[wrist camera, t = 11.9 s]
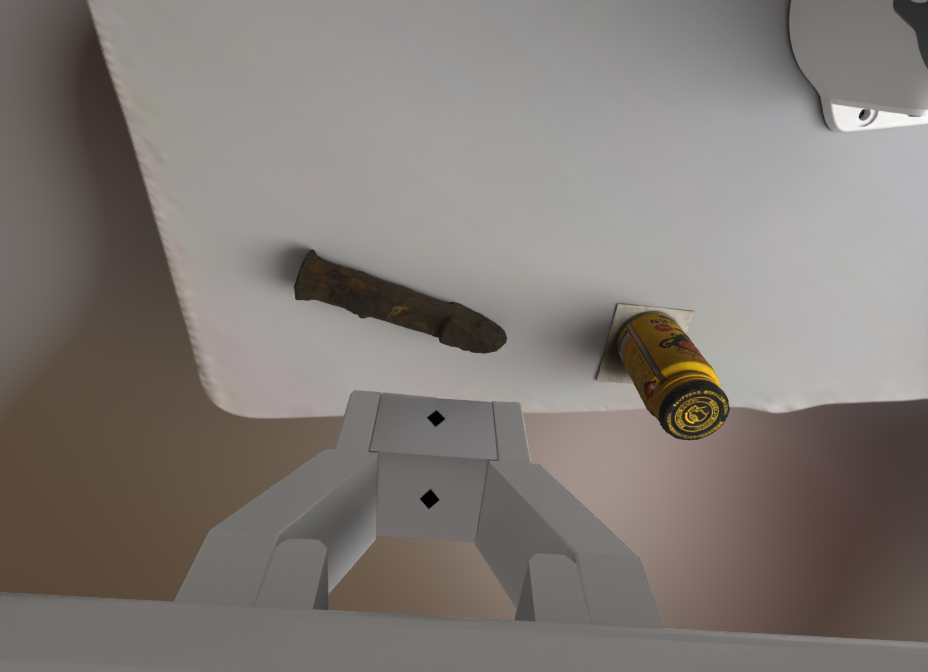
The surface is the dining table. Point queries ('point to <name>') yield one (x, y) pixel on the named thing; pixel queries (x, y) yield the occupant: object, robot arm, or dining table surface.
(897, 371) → the dining table surface
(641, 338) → the condiment
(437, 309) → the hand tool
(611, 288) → the dining table surface
